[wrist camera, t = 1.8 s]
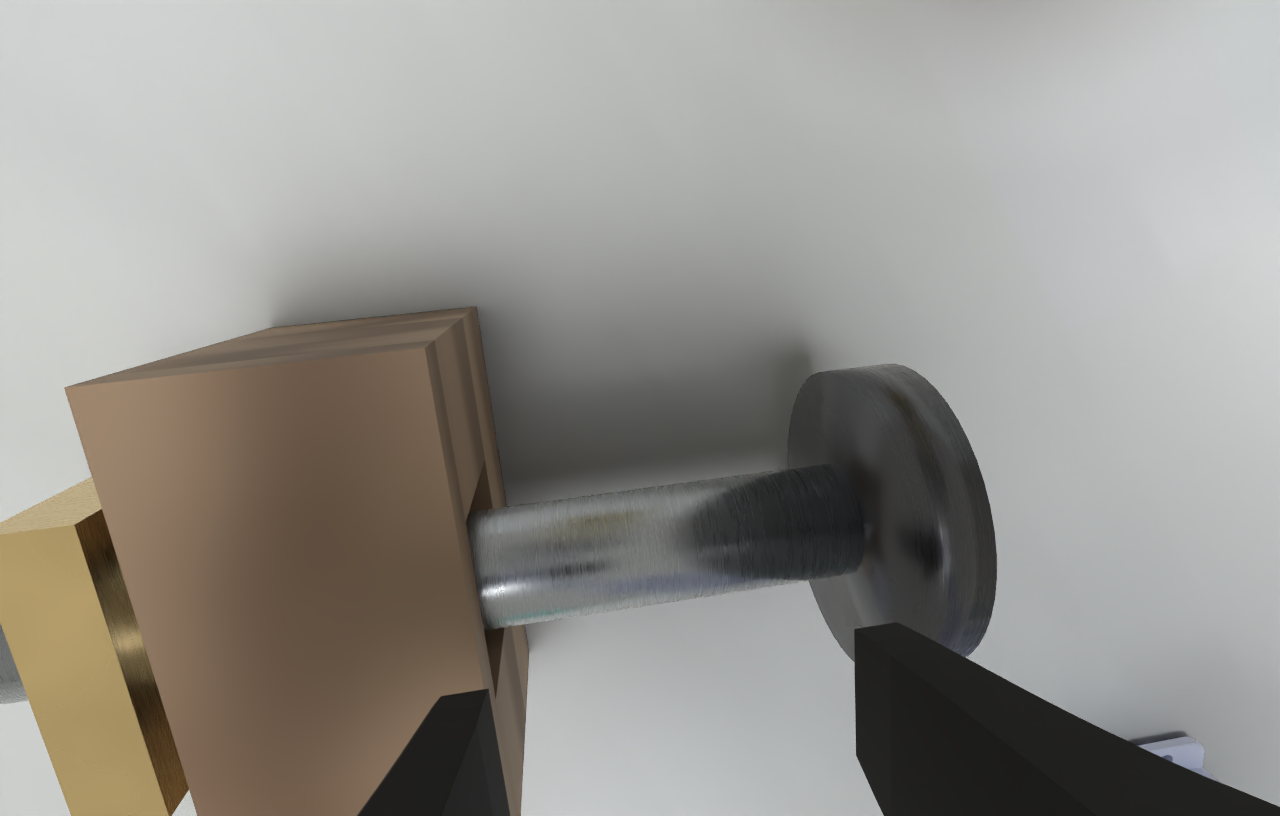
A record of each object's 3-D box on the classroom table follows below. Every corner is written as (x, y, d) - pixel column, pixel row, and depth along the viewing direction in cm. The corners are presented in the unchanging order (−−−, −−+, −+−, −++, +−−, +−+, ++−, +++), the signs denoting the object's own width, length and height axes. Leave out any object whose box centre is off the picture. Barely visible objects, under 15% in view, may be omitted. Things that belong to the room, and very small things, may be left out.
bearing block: (476, 306, 17) (424, 348, 10) (529, 653, 19) (517, 879, 12) (269, 328, 16) (64, 386, 10) (350, 681, 19) (234, 933, 12)
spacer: (236, 430, 16) (74, 525, 10) (288, 638, 17) (169, 818, 12) (169, 437, 16) (-31, 538, 10) (227, 648, 17) (78, 834, 12)
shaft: (840, 344, 17) (1003, 399, 11) (844, 572, 19) (990, 733, 12) (81, 433, 15) (-240, 559, 9) (156, 677, 17) (-74, 928, 11)
